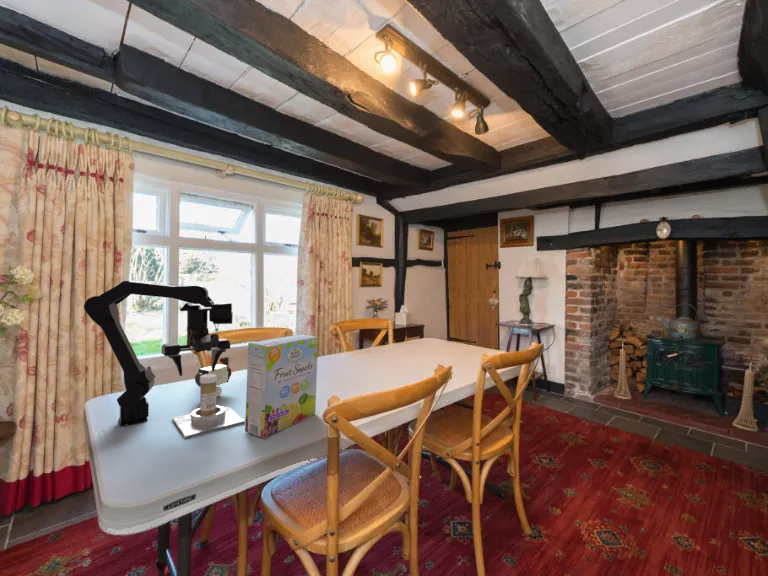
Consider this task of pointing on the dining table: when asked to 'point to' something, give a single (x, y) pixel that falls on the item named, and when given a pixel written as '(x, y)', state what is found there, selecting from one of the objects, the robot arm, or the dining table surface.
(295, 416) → the snack box
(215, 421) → the duct flange
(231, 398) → the dining table surface
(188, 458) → the dining table surface
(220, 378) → the pneumatic valve
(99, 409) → the dining table surface
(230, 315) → the robot arm
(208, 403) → the sprinkles bottle
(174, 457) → the dining table surface
